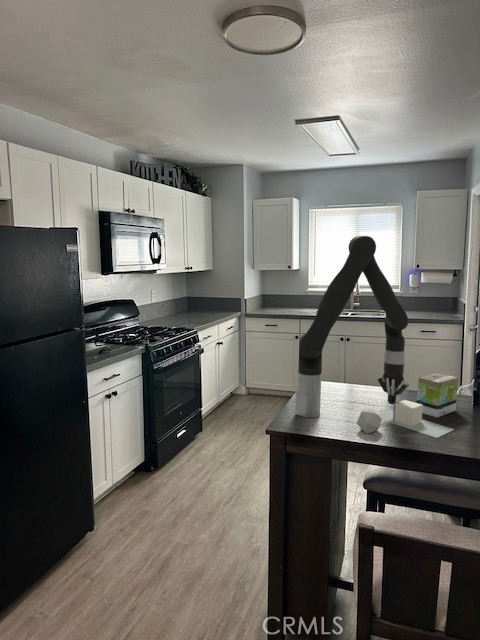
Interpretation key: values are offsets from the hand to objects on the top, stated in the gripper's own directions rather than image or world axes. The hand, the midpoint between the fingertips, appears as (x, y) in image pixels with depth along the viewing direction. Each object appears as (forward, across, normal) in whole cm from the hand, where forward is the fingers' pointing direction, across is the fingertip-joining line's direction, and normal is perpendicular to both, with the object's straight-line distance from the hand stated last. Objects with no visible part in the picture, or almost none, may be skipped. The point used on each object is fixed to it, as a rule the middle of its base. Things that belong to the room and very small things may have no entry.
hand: (391, 403), depth 185 cm
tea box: (+6, +8, +21) cm, 23 cm away
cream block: (+2, +3, 0) cm, 4 cm away
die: (+6, +4, -20) cm, 21 cm away
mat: (+5, +9, 0) cm, 10 cm away
